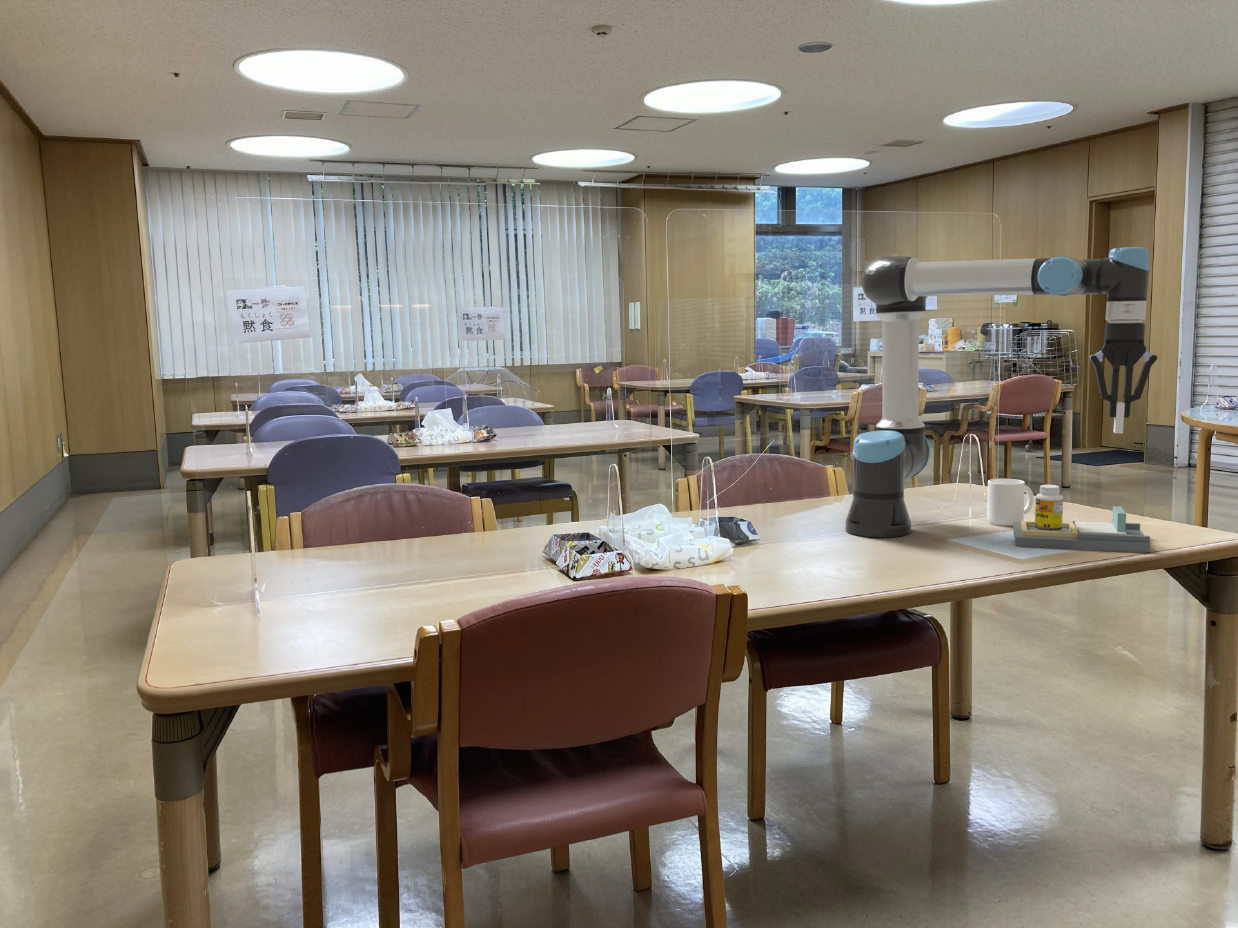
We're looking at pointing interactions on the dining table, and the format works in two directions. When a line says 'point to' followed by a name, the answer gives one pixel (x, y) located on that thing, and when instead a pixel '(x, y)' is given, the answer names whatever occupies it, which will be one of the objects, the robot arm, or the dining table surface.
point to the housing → (1080, 538)
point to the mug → (1007, 501)
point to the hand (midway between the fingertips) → (1118, 432)
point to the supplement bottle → (1049, 509)
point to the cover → (1105, 524)
